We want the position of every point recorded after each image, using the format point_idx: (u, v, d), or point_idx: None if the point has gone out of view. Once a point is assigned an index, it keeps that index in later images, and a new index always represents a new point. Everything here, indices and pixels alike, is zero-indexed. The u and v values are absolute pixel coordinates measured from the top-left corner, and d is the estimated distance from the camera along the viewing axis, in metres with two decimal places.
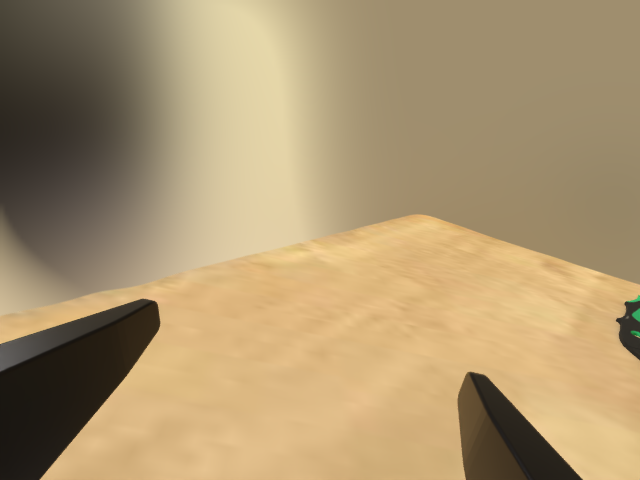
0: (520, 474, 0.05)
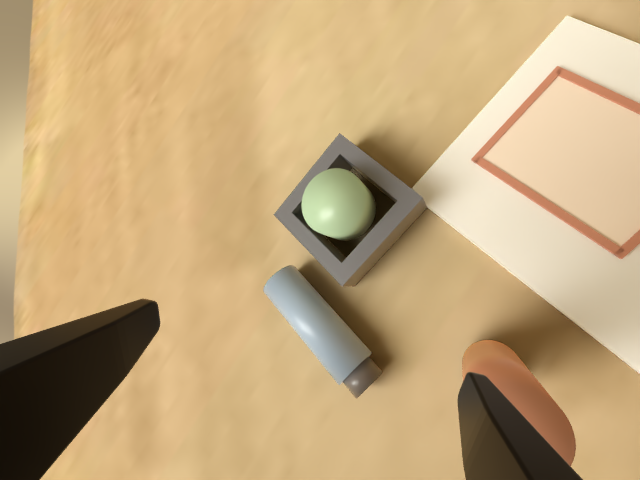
0: (520, 474, 0.05)
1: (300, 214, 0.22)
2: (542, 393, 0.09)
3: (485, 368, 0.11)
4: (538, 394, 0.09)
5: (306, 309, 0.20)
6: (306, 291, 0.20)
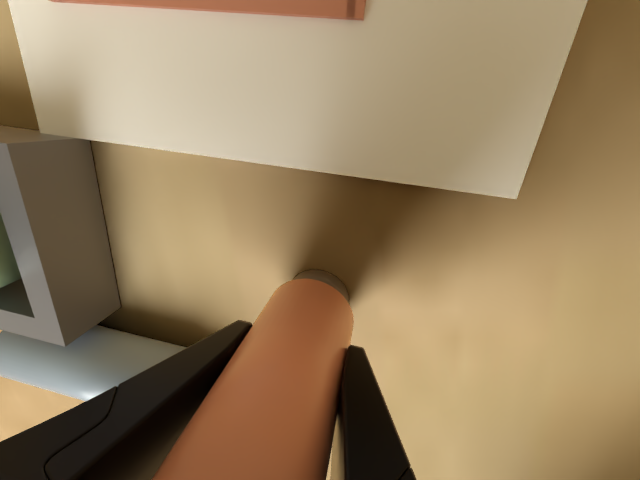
0: (342, 427, 0.06)
1: None
2: None
3: None
4: None
5: (79, 340, 0.12)
6: None
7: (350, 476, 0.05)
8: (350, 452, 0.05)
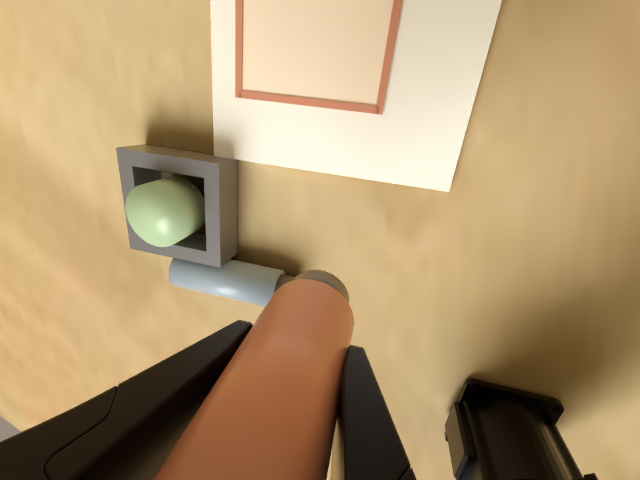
0: (342, 427, 0.06)
1: None
2: None
3: None
4: None
5: None
6: None
7: (350, 476, 0.05)
8: (350, 452, 0.05)
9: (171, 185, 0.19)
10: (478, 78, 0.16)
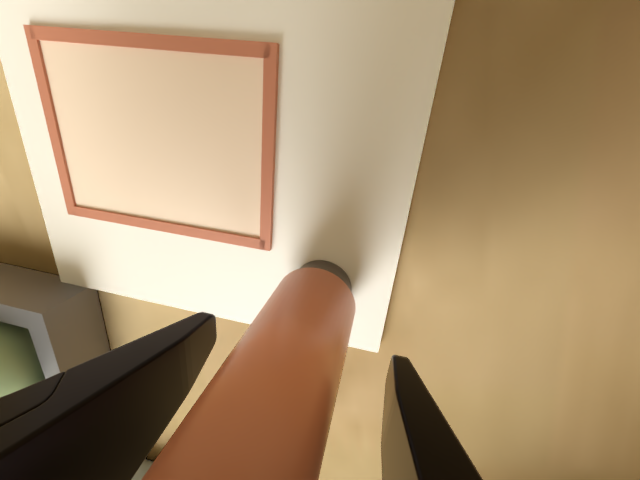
0: (406, 444, 0.05)
1: None
2: None
3: None
4: None
5: None
6: None
7: None
8: (423, 473, 0.05)
9: None
10: (406, 211, 0.10)
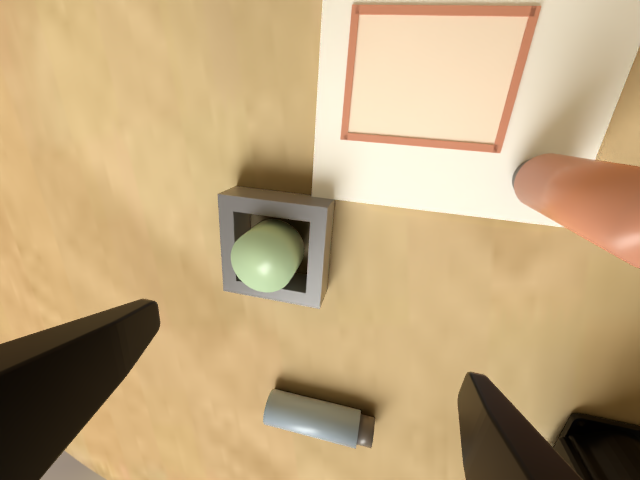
0: (520, 474, 0.05)
1: None
2: None
3: (586, 190, 0.10)
4: None
5: (301, 428, 0.25)
6: (291, 414, 0.25)
7: None
8: None
9: (277, 231, 0.19)
10: (610, 114, 0.15)
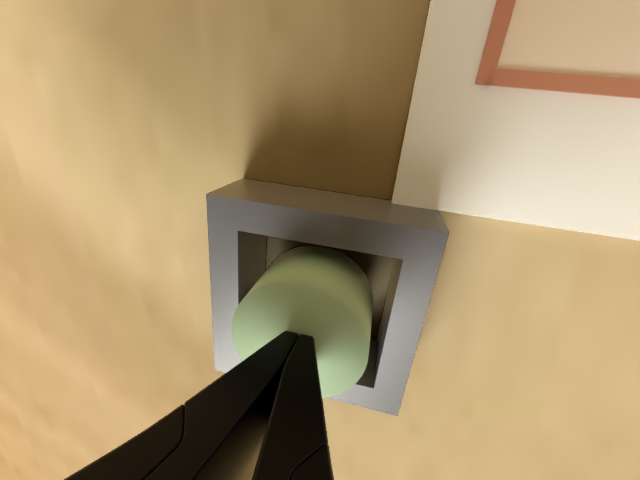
0: (272, 408, 0.06)
1: None
2: None
3: None
4: None
5: None
6: None
7: (264, 451, 0.05)
8: (270, 430, 0.05)
9: (333, 277, 0.09)
10: None
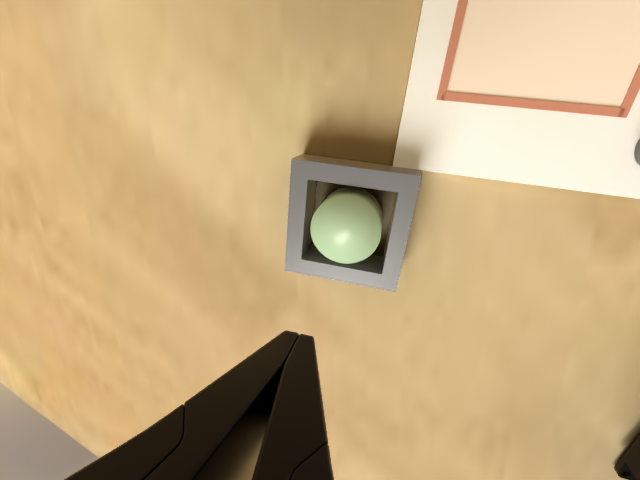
0: (272, 408, 0.06)
1: (305, 250, 0.20)
2: None
3: None
4: None
5: None
6: None
7: (264, 451, 0.05)
8: (270, 430, 0.05)
9: (363, 197, 0.17)
10: None
